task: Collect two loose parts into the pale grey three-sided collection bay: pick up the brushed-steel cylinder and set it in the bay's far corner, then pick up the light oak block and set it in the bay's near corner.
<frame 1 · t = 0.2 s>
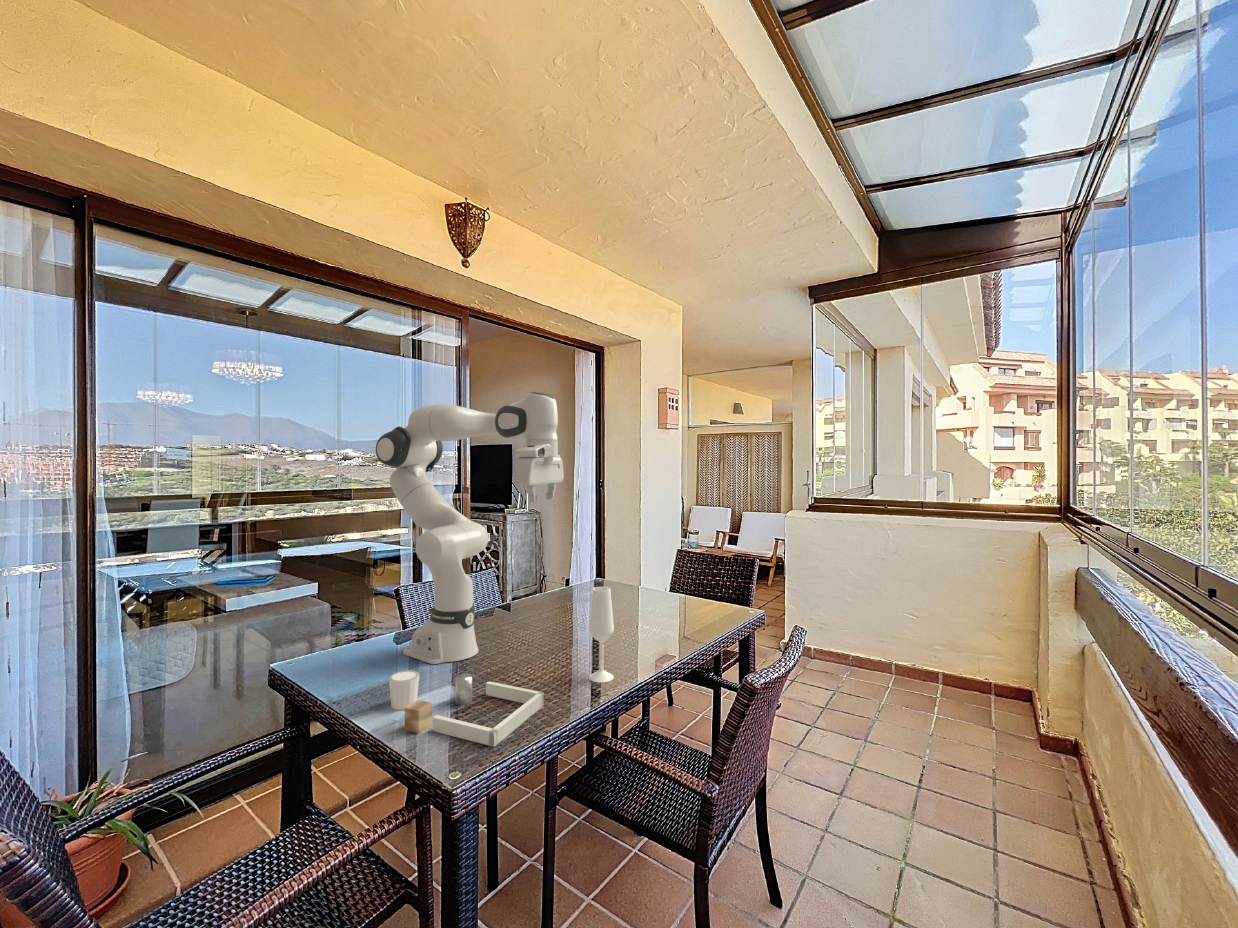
hand: (541, 500, 148), 47 cm above the table, fingers open, 8 cm apart
champagne flute: (601, 677, 144), on the table
steel part: (463, 701, 130), on the table
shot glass: (404, 705, 128), on the table
bay: (491, 717, 122), on the table
oak block: (418, 727, 117), on the table
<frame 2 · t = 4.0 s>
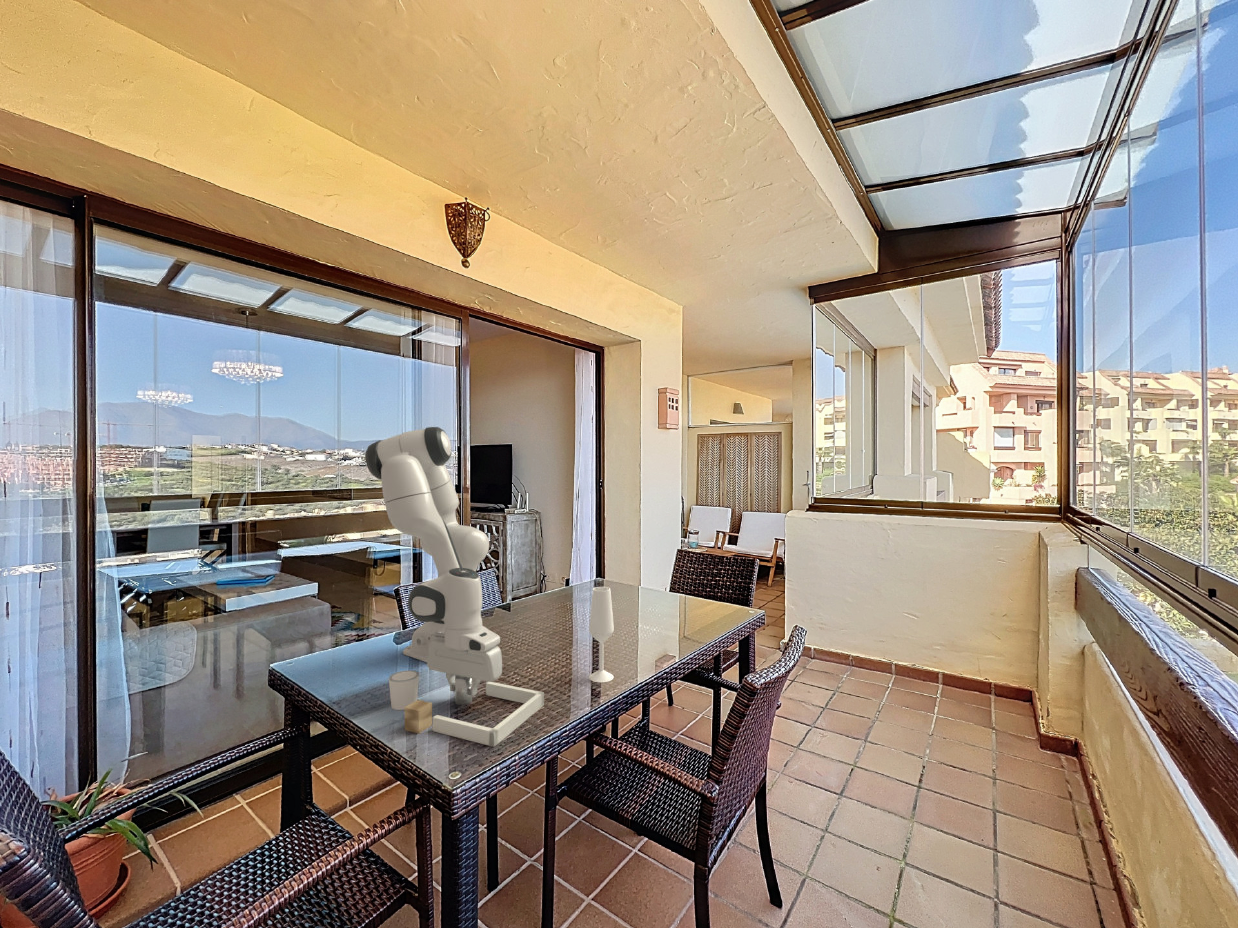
hand: (463, 692, 129), 2 cm above the table, fingers closed on steel part, 4 cm apart
steel part: (463, 701, 130), on the table, touching gripper
everything else where it was.
when the fingers open (4 cm above the table, at t = 8.9 s): steel part drops 1 cm, on the table.
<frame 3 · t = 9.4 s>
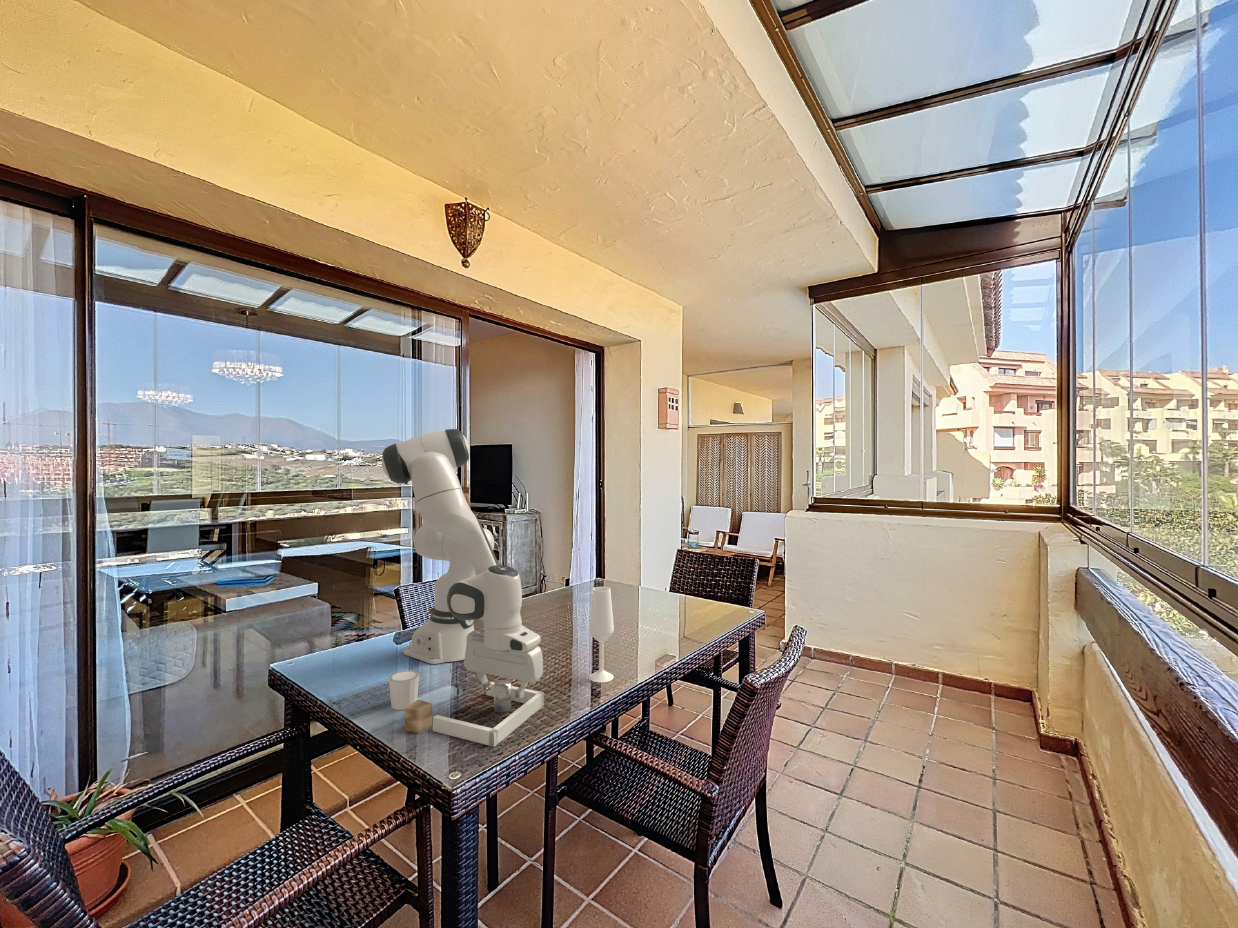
hand: (502, 693, 126), 4 cm above the table, fingers open, 8 cm apart
steel part: (502, 708, 126), on the table
everything else where it was.
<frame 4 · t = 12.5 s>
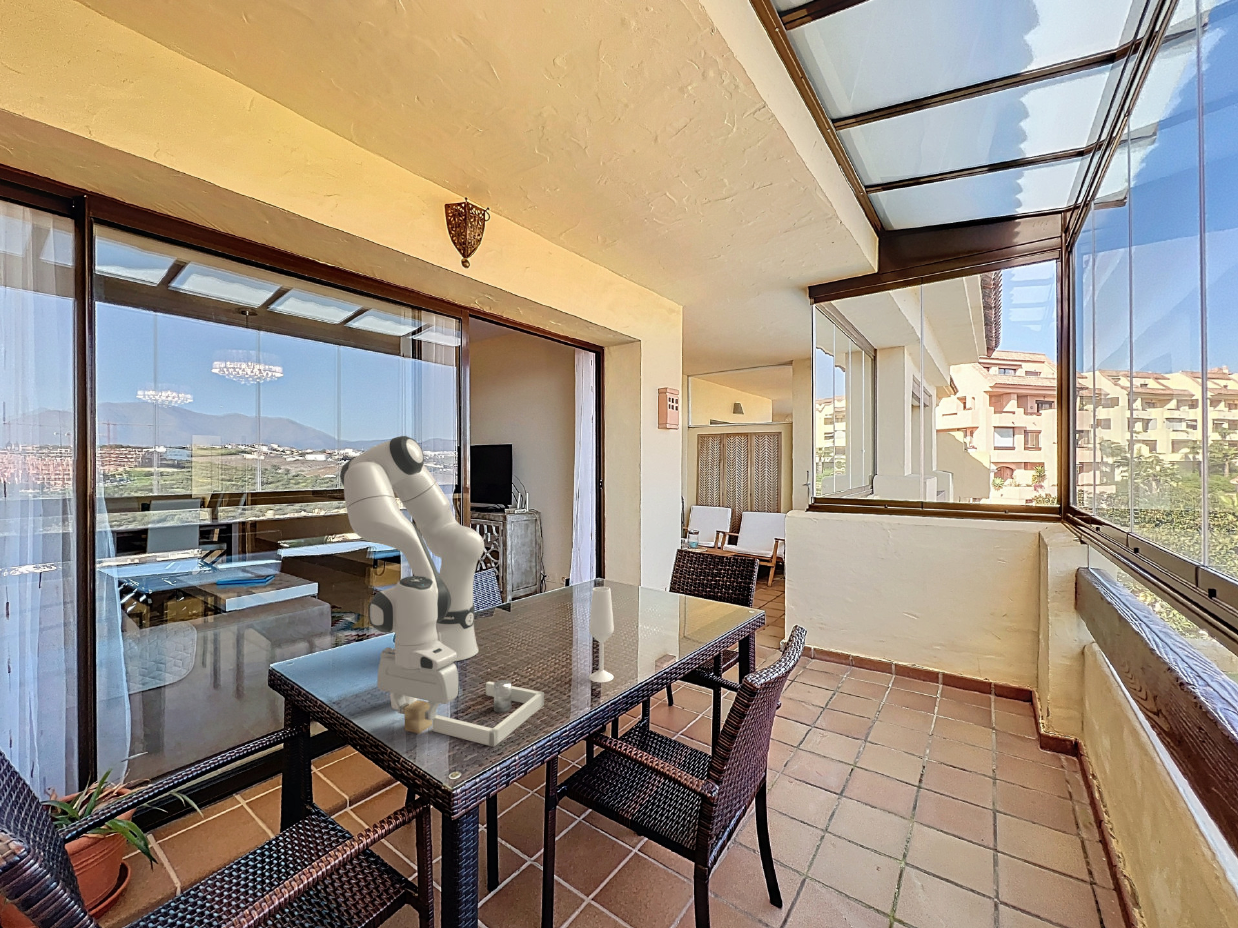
hand: (416, 715, 116), 3 cm above the table, fingers open, 6 cm apart
nothing on the table moved.
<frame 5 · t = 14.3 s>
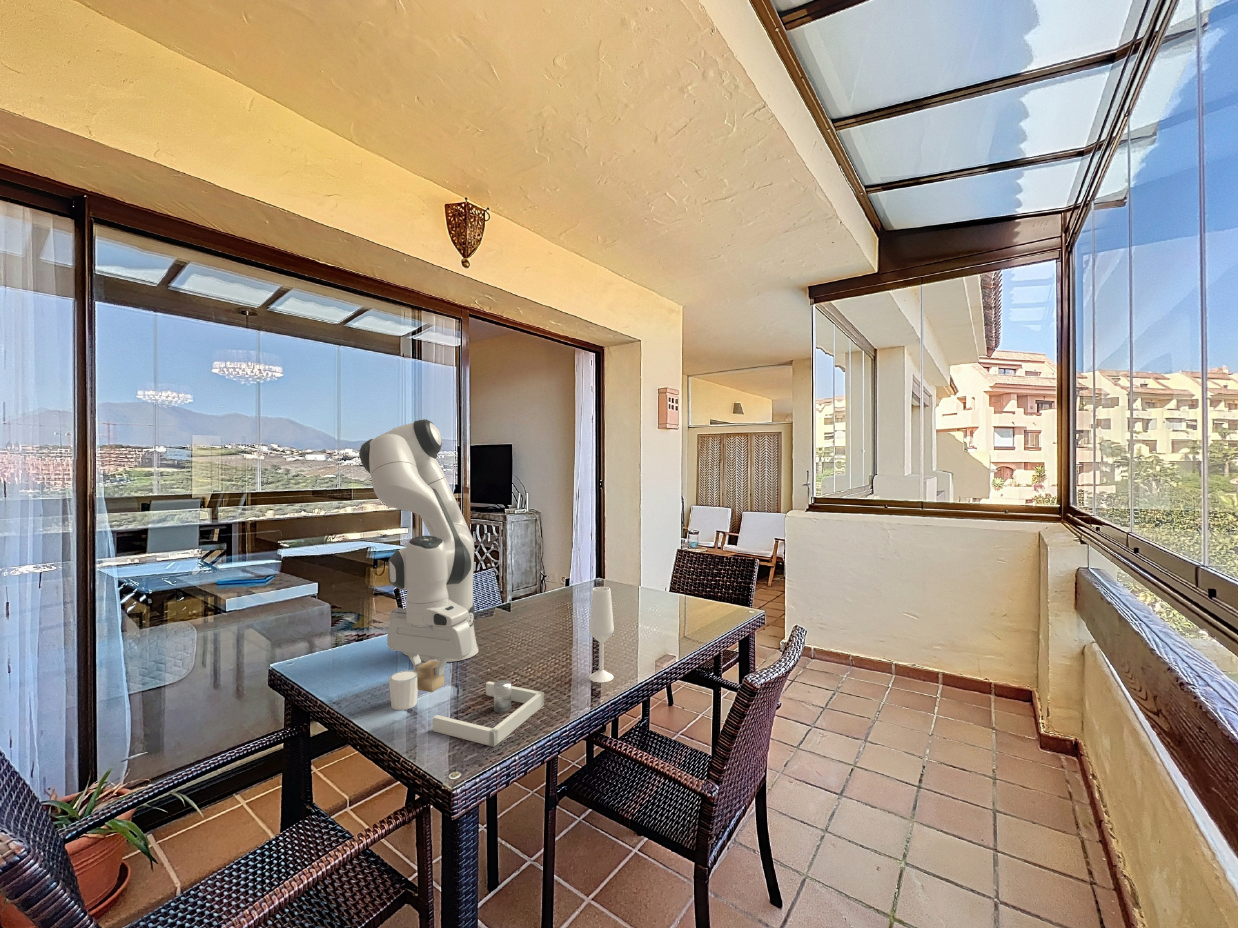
hand: (429, 673, 117), 12 cm above the table, fingers closed on oak block, 4 cm apart
oak block: (431, 687, 118), point 8 cm above the table, touching gripper
everything else where it was.
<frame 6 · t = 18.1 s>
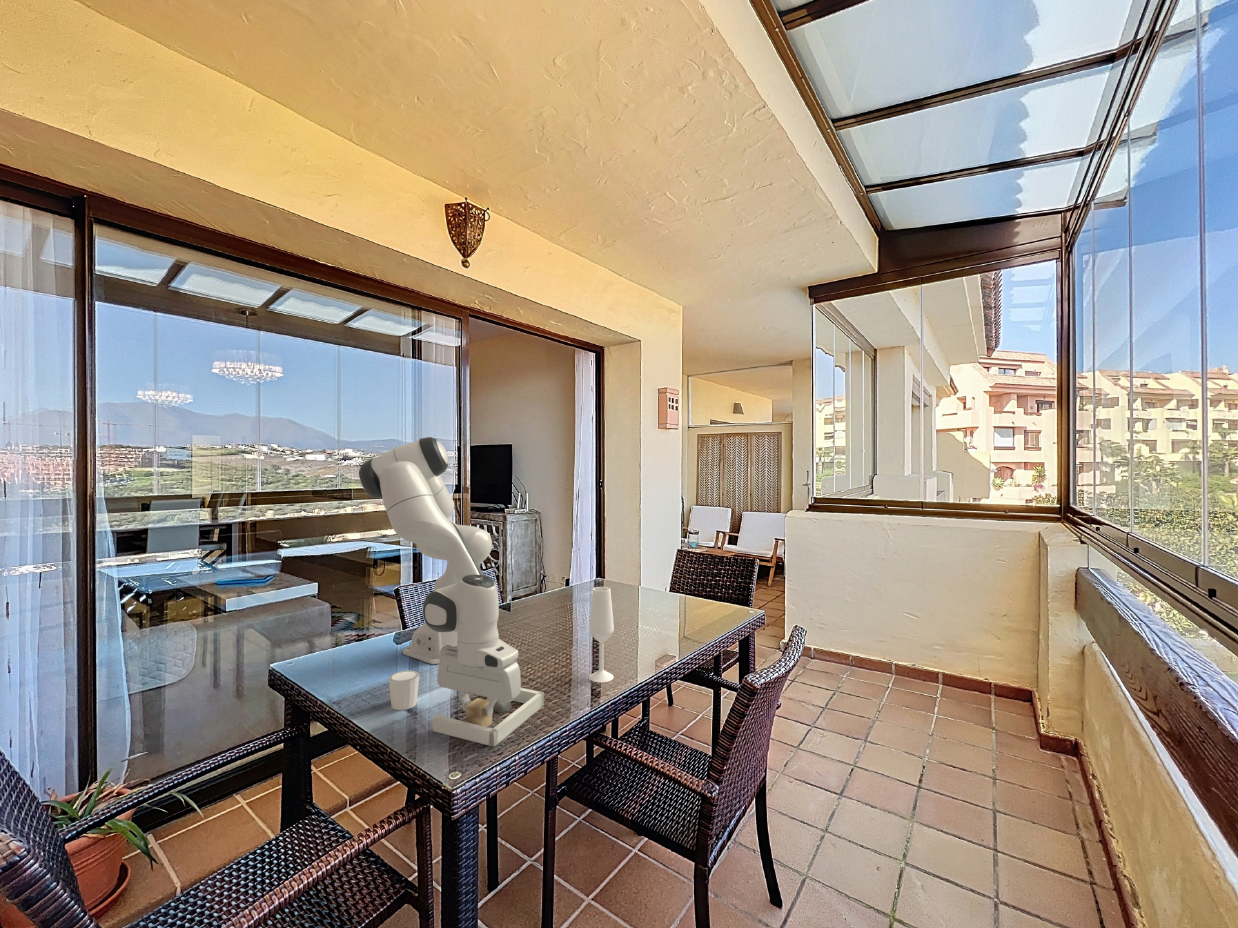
hand: (477, 712, 117), 3 cm above the table, fingers closed on oak block, 4 cm apart
oak block: (479, 725, 118), on the table, touching gripper
everything else where it was.
when the fingers open (3 cm above the table, at t = 18.4 s): oak block stays where it is, on the table.
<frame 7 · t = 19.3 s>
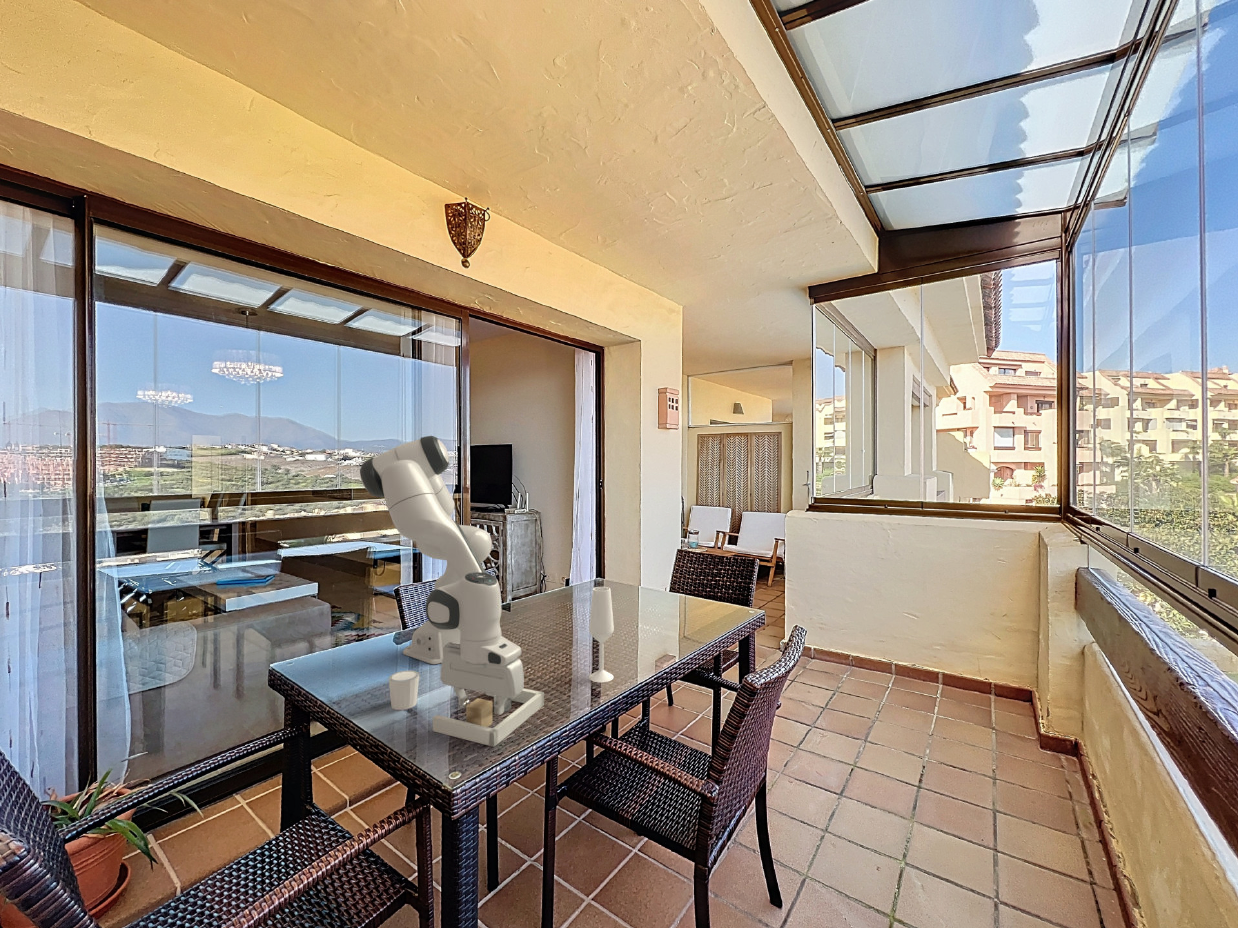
hand: (481, 709, 118), 4 cm above the table, fingers open, 8 cm apart
oak block: (479, 726, 118), on the table
everything else where it was.
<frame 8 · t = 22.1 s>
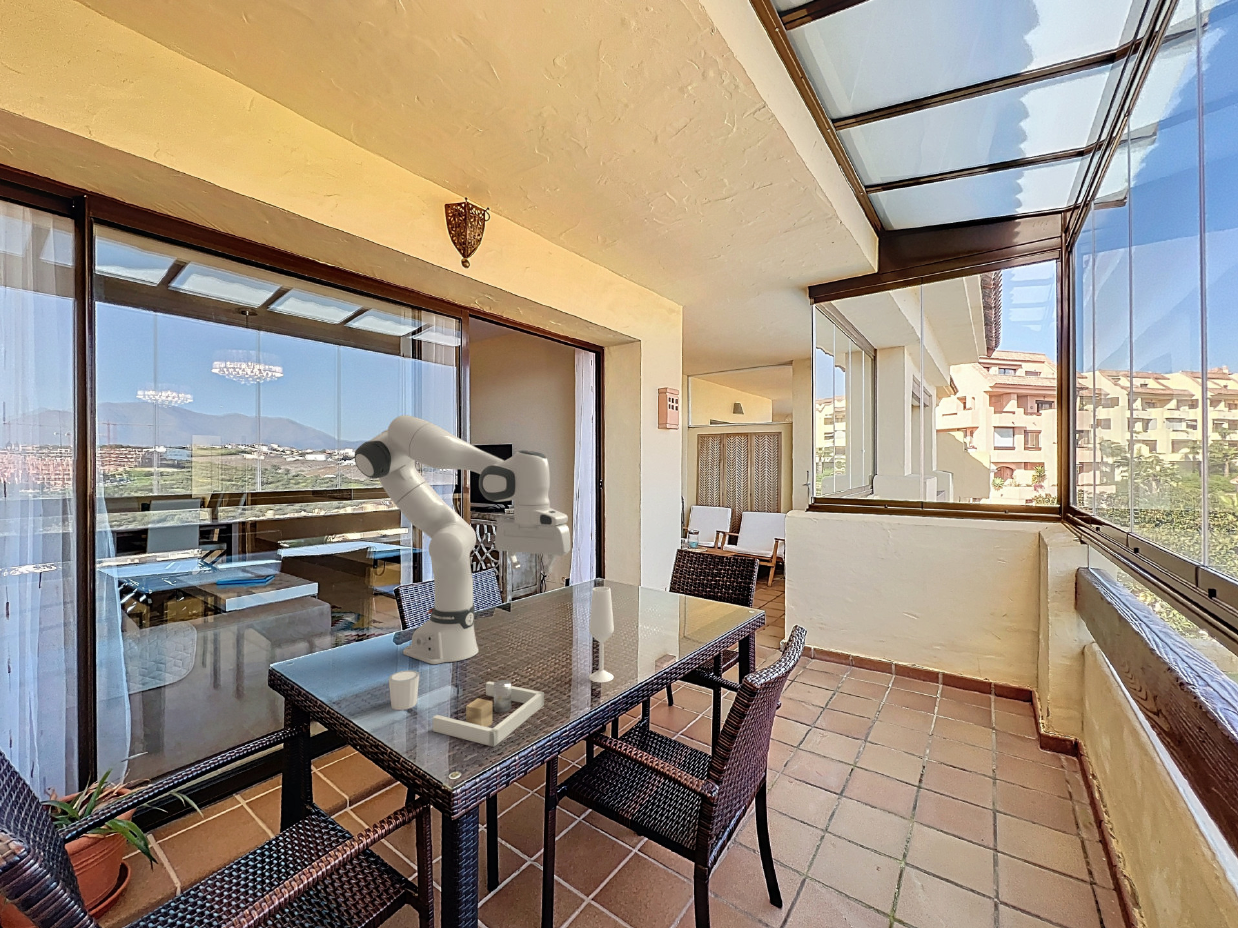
hand: (531, 570, 133), 31 cm above the table, fingers open, 8 cm apart
nothing on the table moved.
at the end: steel part inside the target area on the bay (4.6 cm from its centre), point 0.0 cm above the bay's base; oak block inside the target area on the bay (4.1 cm from its centre), point 0.0 cm above the bay's base; steel part tilted 0° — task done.
